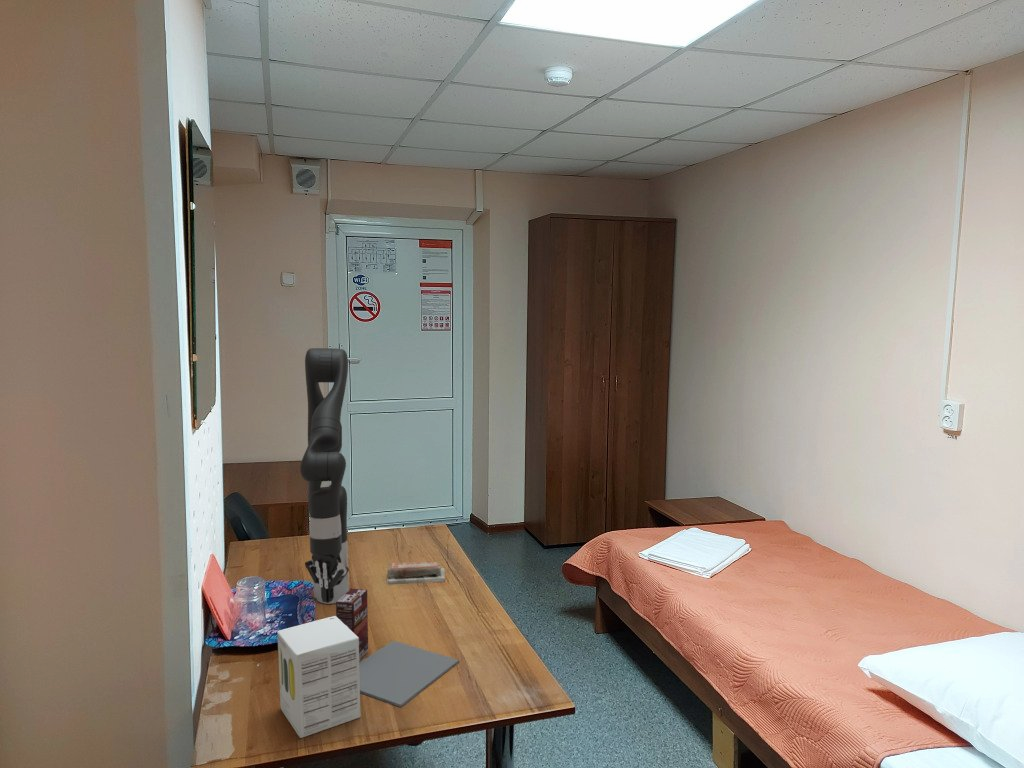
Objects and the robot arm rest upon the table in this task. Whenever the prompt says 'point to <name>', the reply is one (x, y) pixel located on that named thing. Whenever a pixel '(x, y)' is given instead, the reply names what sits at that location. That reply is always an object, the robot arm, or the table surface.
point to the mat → (401, 672)
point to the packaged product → (415, 573)
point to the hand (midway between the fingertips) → (327, 601)
